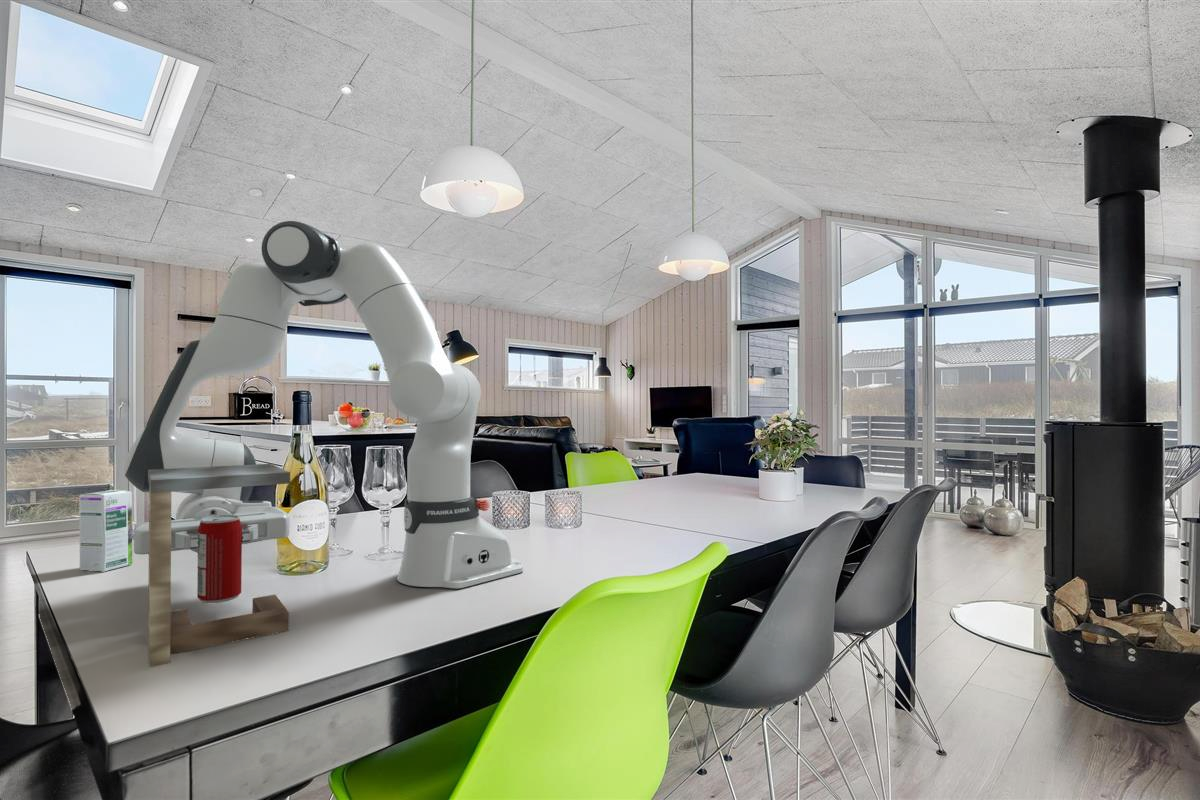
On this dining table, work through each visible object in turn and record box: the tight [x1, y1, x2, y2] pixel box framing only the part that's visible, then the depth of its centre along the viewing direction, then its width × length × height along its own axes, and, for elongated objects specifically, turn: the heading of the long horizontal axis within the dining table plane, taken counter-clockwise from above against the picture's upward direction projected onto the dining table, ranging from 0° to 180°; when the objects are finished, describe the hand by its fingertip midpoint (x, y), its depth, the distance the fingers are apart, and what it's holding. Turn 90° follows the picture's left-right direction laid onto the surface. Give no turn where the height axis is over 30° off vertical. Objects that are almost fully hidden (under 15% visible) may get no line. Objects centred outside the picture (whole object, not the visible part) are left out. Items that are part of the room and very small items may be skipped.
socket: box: [170, 594, 290, 655], centre depth 84 cm, size 14×10×2 cm
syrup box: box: [78, 489, 133, 573], centre depth 117 cm, size 6×6×14 cm
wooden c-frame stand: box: [147, 463, 291, 668], centre depth 83 cm, size 15×15×22 cm
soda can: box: [196, 515, 243, 604], centre depth 90 cm, size 6×6×12 cm
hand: (220, 540), depth 89 cm, fingers closed on soda can, 5 cm apart
